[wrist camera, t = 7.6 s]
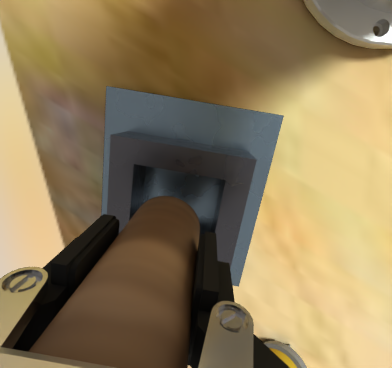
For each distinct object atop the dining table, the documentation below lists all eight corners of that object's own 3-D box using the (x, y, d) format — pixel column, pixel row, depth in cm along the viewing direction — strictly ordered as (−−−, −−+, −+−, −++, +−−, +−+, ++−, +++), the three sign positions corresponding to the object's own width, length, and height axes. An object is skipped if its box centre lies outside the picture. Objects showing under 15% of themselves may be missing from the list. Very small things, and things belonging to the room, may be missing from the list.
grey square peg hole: (111, 87, 16) (82, 79, 13) (280, 115, 16) (300, 116, 12) (104, 255, 20) (80, 286, 17) (237, 279, 20) (243, 316, 17)
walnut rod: (136, 190, 13) (-51, 380, 4) (205, 202, 13) (192, 424, 4) (131, 250, 14) (-23, 512, 5) (194, 261, 14) (162, 546, 5)
